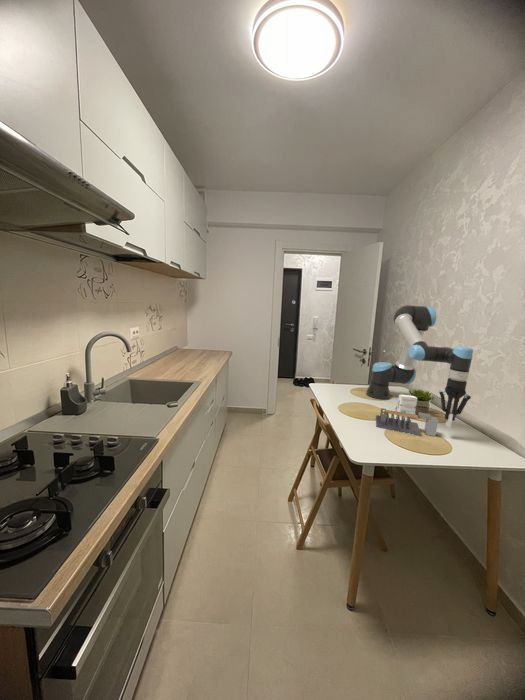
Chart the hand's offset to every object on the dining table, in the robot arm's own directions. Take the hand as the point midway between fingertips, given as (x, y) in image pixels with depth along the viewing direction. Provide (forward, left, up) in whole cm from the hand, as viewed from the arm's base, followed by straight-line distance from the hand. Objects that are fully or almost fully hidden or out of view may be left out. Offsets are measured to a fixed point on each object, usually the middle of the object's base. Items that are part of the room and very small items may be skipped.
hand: (448, 426), depth 136 cm
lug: (0, -9, -6) cm, 11 cm away
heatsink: (0, -22, -6) cm, 23 cm away
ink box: (-20, -16, -6) cm, 26 cm away
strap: (0, -22, +1) cm, 22 cm away
